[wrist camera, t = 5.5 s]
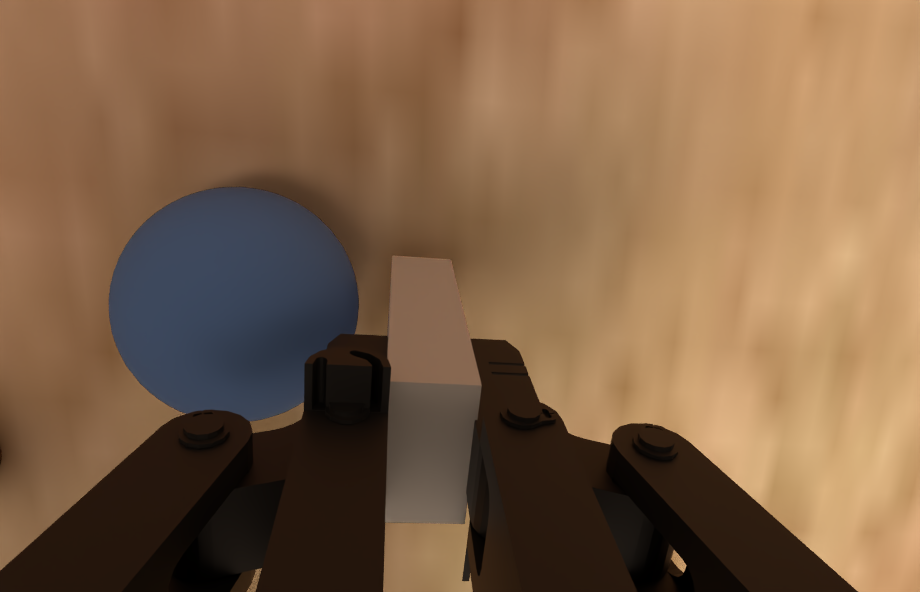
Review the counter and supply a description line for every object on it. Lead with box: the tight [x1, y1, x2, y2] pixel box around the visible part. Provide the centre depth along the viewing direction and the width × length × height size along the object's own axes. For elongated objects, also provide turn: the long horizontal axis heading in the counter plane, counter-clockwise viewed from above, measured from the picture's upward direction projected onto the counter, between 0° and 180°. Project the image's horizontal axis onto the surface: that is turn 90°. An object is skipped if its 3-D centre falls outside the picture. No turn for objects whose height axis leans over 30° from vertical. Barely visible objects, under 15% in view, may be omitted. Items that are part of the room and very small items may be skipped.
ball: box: [109, 187, 359, 421], centre depth 15 cm, size 6×6×6 cm
